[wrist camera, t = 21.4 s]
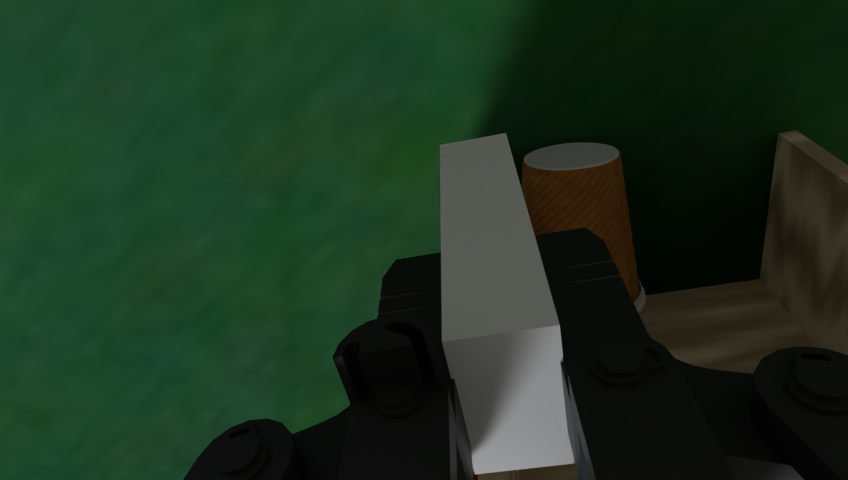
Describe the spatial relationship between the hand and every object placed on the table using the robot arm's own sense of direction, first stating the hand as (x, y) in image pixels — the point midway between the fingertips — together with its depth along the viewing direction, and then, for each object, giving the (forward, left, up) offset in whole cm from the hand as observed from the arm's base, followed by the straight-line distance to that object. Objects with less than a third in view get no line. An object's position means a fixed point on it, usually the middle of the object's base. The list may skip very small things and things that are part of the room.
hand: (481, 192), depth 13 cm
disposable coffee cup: (+10, +6, -23) cm, 26 cm away
